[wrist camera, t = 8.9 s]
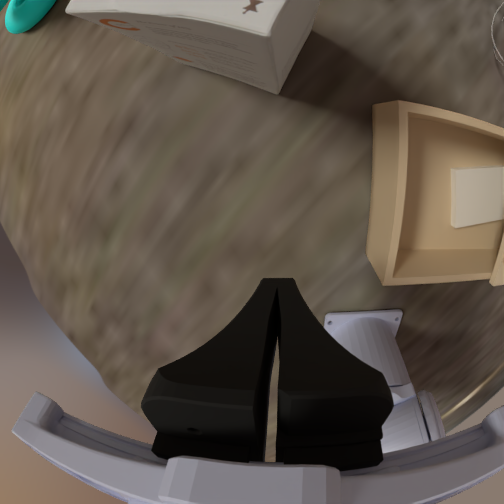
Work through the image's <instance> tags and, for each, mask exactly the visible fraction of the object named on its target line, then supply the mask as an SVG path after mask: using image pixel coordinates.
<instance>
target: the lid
mask: <svg viewBox="0 0 504 504" xmlns="http://www.w3.org/2000/svg"><path fill="white" fill-rule="evenodd" d="M489 283H490V284H491V285H492V286H497V285H504V233H503V238H502V242H501V245H500V249H499V253H498V256H497V260H496V263H495V266H494V269H493V272H492V275H491V278H490V281H489Z"/></svg>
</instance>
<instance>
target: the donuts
mask: <svg viewBox="0 0 504 504" xmlns="http://www.w3.org/2000/svg"><path fill="white" fill-rule="evenodd" d="M8 1H9V0H0V11H1V10H2V9H3V7H4V6H5V5H6V3H7V2H8ZM55 2H56V0H11V1H10V3H9V6H8V9H7V12H6V17H5V24H6V28H7V30H8V31H9V32H11V33H13V34H19V33H23V32H25V31H27V30H29V29H30V28H32V27H33V26H34V25H36V24H37V23H38V22H39V21H40V20H41V19H42V18H43V17H44V16H45V15H46V14H47V12H48V11H49V10H50V9H51V7H52V6H53V5H54V3H55Z"/></svg>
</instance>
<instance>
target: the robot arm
mask: <svg viewBox="0 0 504 504" xmlns="http://www.w3.org/2000/svg"><path fill="white" fill-rule="evenodd" d="M402 315H403V313H402V310H400V309H394V310H379V311H362V312H338V313H328V314H327V315H326V316H325V322H324V327H323V326H322V325H321V324H320V322H319V321H318V320H317V319H316V317H315V316H314V315H313V313H312V312H311V310H310V309H309V307H308V306H307V304H306V302H305V301H304V299H303V297H302V296H301V294H300V292H299V290H298V288H297V285H296V282H295V280H294V279H293V278H263V279H262V280H261V282H260V284H259V285H258V287H257V289H256V291H255V292H254V294H253V295H252V297H251V298H250V299H249V301H248V302H247V303H246V305H245V306H244V307H243V308H242V310H241V311H240V312H239V313H238V314H237V315H236V317H235V318H234V319H233V320H232V321H231V322H230V323H229V324H228V325H227V326H226V327H225V328H224V329H223V330H222V331H220V332H219V333H218V334H217V335H216V336H214V337H213V338H212V339H211V340H209V341H208V342H207V343H205V344H204V345H203V346H201V347H199V348H198V349H196V350H195V351H193V352H191V353H190V354H188V355H186V356H184V357H182V358H180V359H178V360H176V361H174V362H172V363H170V364H168V365H165V366H163V367H161V368H158V370H157V372H156V374H155V375H154V377H153V378H152V380H151V382H150V384H149V386H148V388H147V391H146V393H145V395H144V397H143V400H142V402H141V408H142V410H143V412H144V414H145V416H146V417H147V418H148V420H149V421H150V422H151V424H152V425H153V426H154V428H155V429H156V430H157V435H156V437H155V440H154V443H153V445H151V444H148V443H144V442H141V441H137V440H134V439H130V438H128V437H124V436H122V435H118V434H116V433H113V432H110V431H107V430H105V429H102V428H99V427H97V426H94V425H92V424H89V423H87V422H85V421H82V420H80V419H78V418H75V417H73V416H71V415H69V414H67V413H65V412H64V411H63V410H62V408H61V407H60V406H59V405H58V404H57V403H56V402H55V401H53V400H52V399H50V398H48V397H46V396H44V395H43V394H41V393H39V392H35V393H34V394H33V396H32V397H31V399H30V401H29V402H28V404H27V405H26V407H25V408H24V410H23V412H22V413H21V415H20V417H19V418H18V420H17V422H16V423H15V425H14V427H13V428H12V432H13V433H14V434H15V435H16V436H17V437H18V438H20V439H21V440H22V441H23V442H24V443H25V444H27V445H28V446H29V447H30V448H32V449H33V450H34V451H35V452H37V453H38V454H39V455H41V456H42V457H43V458H45V459H46V460H48V461H49V462H51V463H52V464H54V465H56V466H57V467H58V468H60V469H62V470H63V471H65V472H67V473H69V474H70V475H72V476H74V477H75V478H77V479H79V480H81V481H83V482H84V483H86V484H88V485H90V486H92V487H94V488H96V489H98V490H100V491H102V492H104V493H107V494H109V495H111V496H113V497H115V498H118V499H120V500H123V501H125V502H127V503H128V504H436V503H438V502H441V501H443V500H446V499H448V498H450V497H452V496H455V495H457V494H459V493H461V492H463V491H465V490H467V489H469V488H471V487H473V486H475V485H477V484H478V483H480V482H482V481H484V480H486V479H488V478H489V477H491V476H493V475H494V474H496V473H497V472H499V471H500V470H502V469H503V468H504V405H503V406H501V407H499V408H497V409H495V410H494V411H492V412H491V413H490V414H489V415H488V416H486V418H485V419H484V420H483V421H482V423H480V424H478V425H475V426H473V427H471V428H468V429H466V430H463V431H460V432H458V433H455V434H453V435H450V436H447V437H446V435H445V431H444V427H443V423H442V420H441V417H440V413H439V410H438V407H437V404H436V402H435V399H434V397H433V395H432V393H431V392H428V391H427V392H426V391H425V390H424V389H423V390H421V391H419V392H418V395H419V398H420V401H421V403H420V404H421V407H420V404H419V401H418V398H417V395H416V392H415V390H414V387H413V384H412V383H411V380H410V377H409V375H408V372H407V369H406V366H405V363H404V361H403V358H402V355H401V353H400V350H399V347H398V345H397V342H396V340H395V336H396V333H397V330H398V328H399V325H400V321H401V318H402ZM397 317H398V318H397ZM395 318H397V319H395ZM329 321H332V322H330V323H329ZM277 337H278V346H279V360H280V364H279V379H278V406H277V436H276V462H265V450H266V436H267V422H268V407H269V393H270V381H271V374H272V368H273V362H274V356H275V350H276V344H277ZM421 408H422V411H423V414H424V416H423V414H422V411H421ZM430 440H431V442H430Z"/></svg>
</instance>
